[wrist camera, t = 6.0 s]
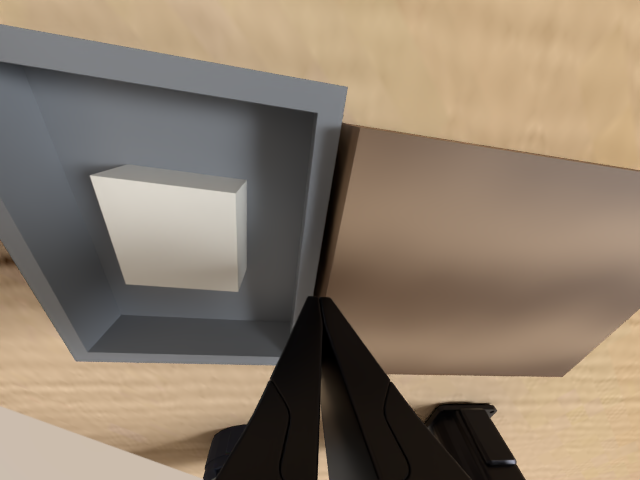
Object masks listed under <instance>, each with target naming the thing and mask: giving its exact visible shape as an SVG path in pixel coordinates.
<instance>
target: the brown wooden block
mask: <svg viewBox="0 0 640 480" xmlns="http://www.w3.org/2000/svg"><path fill="white" fill-rule="evenodd" d="M313 296H318V297H330V298H331V299H332V300H333V301H334V303H335V304H336V306H337V307H338V308H339V310H340V311H341V312H342V314H343V315H344V317H345V318H346V319H347V321H348V322H349V323H350V325H351V326H352V328H353V329H354V330H355V332H356V333H357V335H358V336H359V337H360V339H361V340H362V341H363V343H364V344H365V346H366V347H367V348H368V350H369V351H370V352H371V354H372V355H373V357H374V358H375V359H376V361H377V362H378V363H379V365H380V366H381V368H382V369H383V370H384V372H385V373H386V374H411V375H474V376H537V377H563V376H564V375H565V374H566V373H567V372H569V371H570V370H571V369H572V368H573V367H574V366H575V365H577V364H578V363H579V362H580V361H581V360H582V359H583V358H584V357H586V356H587V355H588V354H589V353H590V352H591V351H592V350H594V349H595V348H596V347H597V346H598V345H599V344H600V343H601V342H603V341H604V340H605V339H606V338H607V337H608V336H609V335H611V334H612V333H613V332H614V331H615V330H616V329H617V328H618V327H620V326H621V325H622V324H623V323H624V322H625V321H626V320H628V319H629V318H630V317H631V316H632V315H633V314H634V313H635V312H637V311H638V310H639V309H640V170H634V169H628V168H622V167H615V166H609V165H603V164H596V163H590V162H584V161H578V160H571V159H565V158H559V157H553V156H546V155H540V154H534V153H528V152H521V151H515V150H509V149H502V148H496V147H490V146H484V145H477V144H471V143H465V142H459V141H452V140H446V139H440V138H433V137H427V136H421V135H415V134H408V133H402V132H396V131H390V130H383V129H377V128H371V127H364V126H358V125H352V124H346V123H342V125H341V131H340V137H339V143H338V149H337V155H336V161H335V167H334V173H333V179H332V185H331V191H330V197H329V203H328V209H327V215H326V221H325V227H324V233H323V239H322V245H321V251H320V256H319V262H318V268H317V274H316V280H315V286H314V292H313Z"/></svg>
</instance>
